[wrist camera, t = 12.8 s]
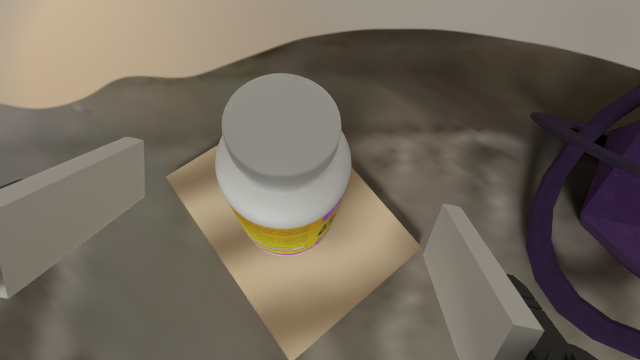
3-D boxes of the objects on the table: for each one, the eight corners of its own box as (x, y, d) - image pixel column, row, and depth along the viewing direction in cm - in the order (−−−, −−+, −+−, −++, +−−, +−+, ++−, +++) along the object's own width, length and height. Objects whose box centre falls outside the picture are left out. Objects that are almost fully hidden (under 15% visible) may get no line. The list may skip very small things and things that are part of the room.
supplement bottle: (323, 266, 23) (353, 221, 12) (232, 248, 23) (167, 184, 12) (338, 180, 26) (375, 70, 14) (255, 163, 26) (222, 40, 14)
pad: (170, 181, 26) (165, 176, 25) (292, 106, 29) (292, 99, 28) (291, 360, 22) (290, 362, 21) (417, 249, 25) (421, 247, 24)
